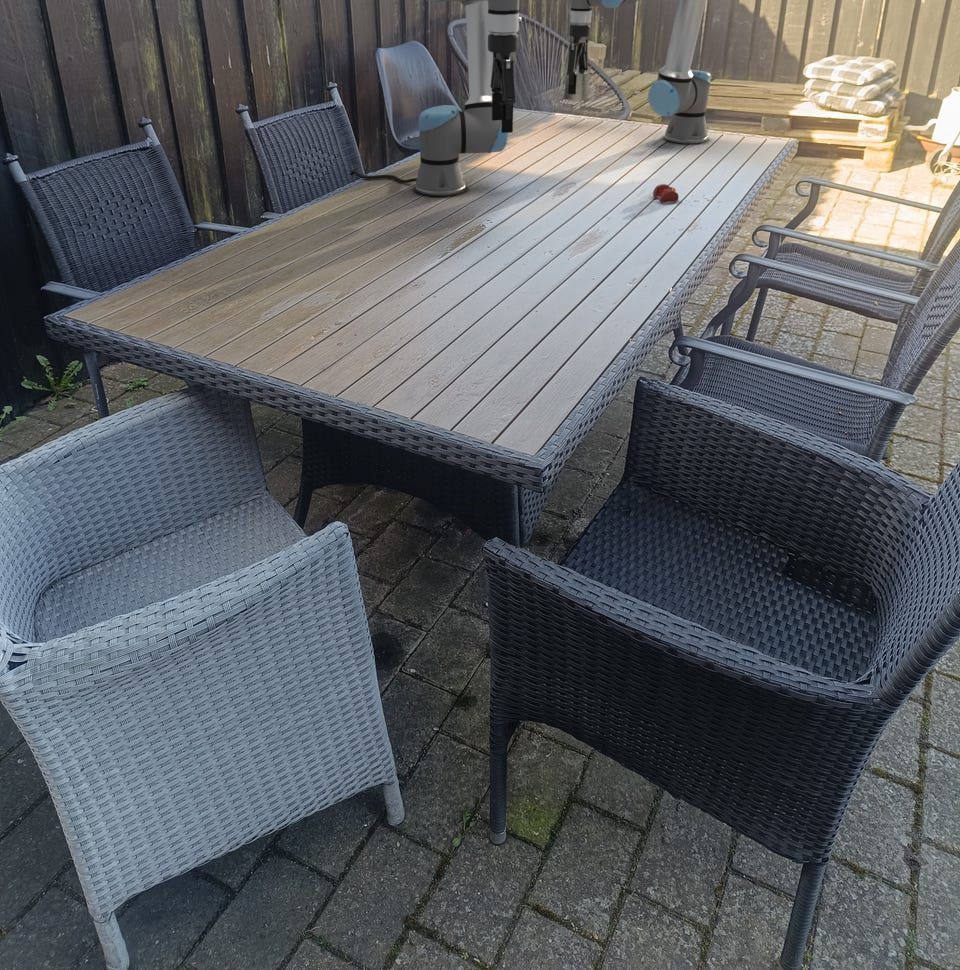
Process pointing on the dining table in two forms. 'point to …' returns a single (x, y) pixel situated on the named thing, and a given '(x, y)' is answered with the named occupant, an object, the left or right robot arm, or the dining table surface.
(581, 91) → the tin
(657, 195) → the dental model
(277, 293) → the dining table surface
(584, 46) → the right robot arm
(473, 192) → the dining table surface
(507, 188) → the dining table surface
